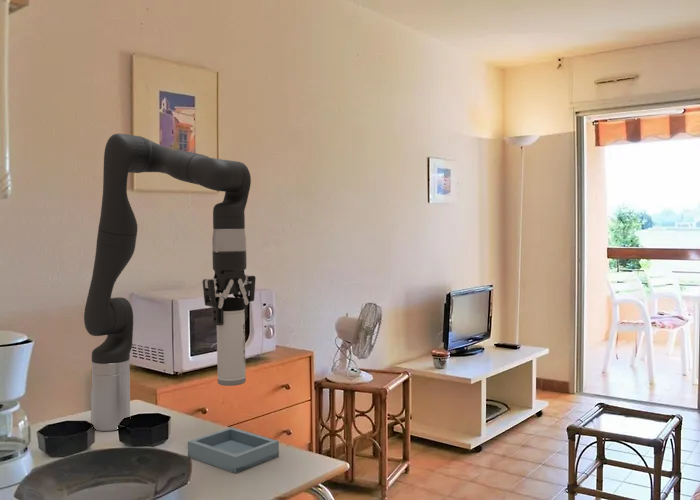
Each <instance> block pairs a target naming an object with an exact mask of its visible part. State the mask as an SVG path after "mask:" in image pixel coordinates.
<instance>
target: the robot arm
mask: <svg viewBox="0 0 700 500" xmlns="http://www.w3.org/2000/svg"><path fill="white" fill-rule="evenodd" d="M103 152H104V153H103V174H102V175H103V176H102V180H103V181H102V183H103V184H102V196H101V197H102V199H101V207H100V218H99V222H98V229H97V237H96V246H95V247H96V248H95V255H94V264H93V270H92V275H91V280H90V286H89V289H88V293H87V297H86V301H85V305H84V306H85V308H84V313H83V323H84V328H85V329H86V332H87V333H88V334H89V335H91V336H93V337H101V336H107V337H106V339H104V341H103V342H102V343H101V344H99V345H98V346H96V347H95V348H94V349H93V350H92V352H91V384H92V385H91V390H90V421H91V422H90V423H92V424H93V425H94V426H95V429H96V430H95V429H94V430H95V431H101V432H109V431H110V432H113V431H118V430H117V427H118V424H119V422H120V421H121V420H122V419H124V418H126V417H130V418H131V373H130V372H131V369H130V367H131V362H130V361H131V359H130V357H131V355H130V354H131V350H132V349H133V348H132V347H133V333H134V311H133V307H132V304H131V302H130V301H129V300H128V299H126V298H125V297H122V296H121V297H112V293H113V289H114V288H115V287H114V286H115V284H116V283H117V280H118V278H119V276H120V275H121V274H122V272H123V271H124V269H125V267H126V266H127V265H128V263H129V262H130V261H131V259H132V258H133V255H134V254H135V250H136V243H137V235H138V222H137V219H136V216H135V213H134V211H133V209H132V206H131V204H130V201H129V198H128V197H129V196H128V193H127V192H128V189H127V188H128V177H129V173H132V174H140V173H162V174H166V175H169V176H170V177H172V178H173V179H176V180H179V181H182V182H185V183H188V184H189V183H190V184H194V185H197V186H198V185H199V186H201V187H204V188H206V189H209V190H211V191H217V192H224V197H223V201H222V202H218V203H217V204H215V205H214V206H213V209H212V210H213V211H212V229H213V230H212V238H211V242H212V244H211V247H212V270H213V271H214V275H213V278H207V279H206V278H203V279H202V290H203V300H204V301H203V302H204V305H205V307H210V308H212V321H213V323H214V326H217V325H223V309H222V306H223V304H224V299H226V298H227V297H229V296H230V295H232V297H235V298H239V299H242V298H243V299H244V309H245V311H244V313H245V322H246V321H247V319H248V305H249V303H251V302H254V301H255V292H256V291H255V290H256V276H255V275H248V274H247V275H246V274H245V270H247V236H246V229H245V228H246V227H245V226H246V222H245V219H246V218H245V215H246V214H245V209H246V207H247V203H248V198H249V193H250V190H251V189H250V188H251V186H252V185H251V184H252V183H251V182H252V177H251V173H250V170H249V167H248V166H247V165H246V164H245V163H244V162H241V161H236V160H227V159H221V158H214V157H210V156H207V155H206V154H205V155H204V154H201V153H196V152H192V151H186V150H180V149H179V150H178V149H173V148H170V147H166V146H163V145H161V144H158V143H157V142H155V141H153V140H151V139H148V138H146V137H143V136H140V135H133V134H125V133H114V134H111V136H110V137H109V138H108V139H107V142H106V145H105V148H104V151H103ZM217 297H220V298H219V300H218V299H216V298H217Z"/></svg>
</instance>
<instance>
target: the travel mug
mask: <svg viewBox="0 0 700 500" xmlns="http://www.w3.org/2000/svg"><path fill="white" fill-rule="evenodd" d="M219 298H220V297H217V298H216V299H218V300H219ZM222 309H223V325H216V357H217V360H216V361H217V363H216V364H217V368H216V369H217V384H218V385H220V386H223V387H225V386H226V387H230V386H231V387H233V386H234V387H235V386H240V385H243V384H245V383H246V381H247V380H246V379H247V377H246V376H247V375H246V369H247V368H246V367H247V366H246V329H245V328H246V323H245V322H246V321H245V313H244V311H245V309H244V299H243V298H242V299H239V298H235V297H234V296H228V297H227V298H226V299H224V304H223V306H222Z"/></svg>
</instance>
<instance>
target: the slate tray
mask: <svg viewBox="0 0 700 500" xmlns="http://www.w3.org/2000/svg"><path fill="white" fill-rule="evenodd" d="M279 442H280V440H276V439H272V438H270V437H266V436H264V435H258V434H256V433H252V432H248V431H246V430H243V429H239V428H235V427H231V426H230V427H227V428H224V429H221V430H218V431H215V432H212V433H209V434H206V435H202V436H200V437H196V438H194V439H190V440H187V457H188V456H189V457H188V458H192V459H194V460H197V461H200V462H202V463H205V464H208V465H211V466H214V467H217V468H220V469H222V470H225V471H226V472H230V473H233V474H238V473H240V472H243V471H245V470H248V469H251V468H253V467H256V466H258V465H261V464H262V463H265V462H268V461H271V460H274V459H275V458H278V457H279V456H280V454H279V453H280V447H279V445H280V443H279Z"/></svg>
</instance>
